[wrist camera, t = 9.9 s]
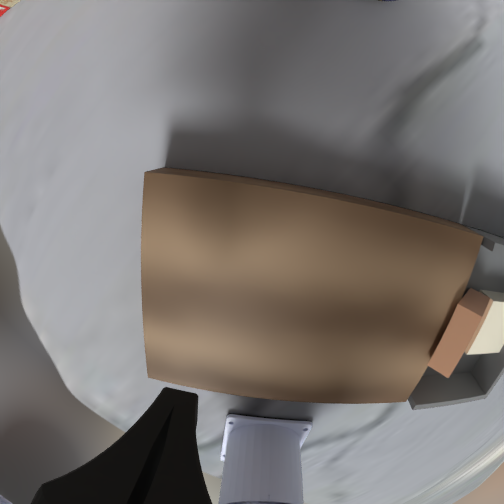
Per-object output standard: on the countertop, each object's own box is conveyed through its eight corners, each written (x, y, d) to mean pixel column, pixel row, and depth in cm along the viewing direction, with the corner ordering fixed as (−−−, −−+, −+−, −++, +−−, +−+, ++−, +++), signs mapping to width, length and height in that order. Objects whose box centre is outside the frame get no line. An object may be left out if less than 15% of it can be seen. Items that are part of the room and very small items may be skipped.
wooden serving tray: (395, 377, 21) (405, 401, 19) (159, 352, 21) (147, 377, 18) (458, 223, 17) (483, 236, 14) (164, 167, 16) (144, 172, 14)
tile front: (446, 340, 19) (464, 351, 18) (427, 365, 16) (448, 378, 15) (470, 287, 18) (490, 297, 16) (457, 303, 15) (482, 316, 13)
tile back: (466, 354, 17) (456, 340, 19) (499, 352, 18) (489, 340, 19) (493, 301, 16) (480, 289, 18) (523, 304, 16) (511, 293, 18)
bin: (469, 373, 21) (485, 398, 18) (398, 377, 21) (412, 409, 18) (527, 246, 17) (555, 263, 13) (461, 224, 16) (495, 242, 13)
